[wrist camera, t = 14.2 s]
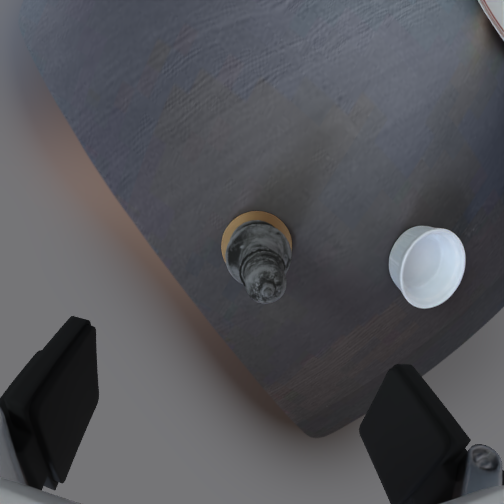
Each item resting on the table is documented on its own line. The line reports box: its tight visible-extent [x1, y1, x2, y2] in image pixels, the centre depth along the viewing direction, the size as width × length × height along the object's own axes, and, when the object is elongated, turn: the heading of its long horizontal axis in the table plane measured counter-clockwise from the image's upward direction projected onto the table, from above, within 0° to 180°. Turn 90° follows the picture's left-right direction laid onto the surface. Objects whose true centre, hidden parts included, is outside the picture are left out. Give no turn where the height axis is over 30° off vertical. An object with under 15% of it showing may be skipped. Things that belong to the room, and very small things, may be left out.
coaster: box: [221, 211, 292, 263], centre depth 32 cm, size 7×7×1 cm
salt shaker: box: [225, 220, 292, 304], centre depth 26 cm, size 6×6×12 cm
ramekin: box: [389, 226, 465, 308], centre depth 32 cm, size 9×9×4 cm
